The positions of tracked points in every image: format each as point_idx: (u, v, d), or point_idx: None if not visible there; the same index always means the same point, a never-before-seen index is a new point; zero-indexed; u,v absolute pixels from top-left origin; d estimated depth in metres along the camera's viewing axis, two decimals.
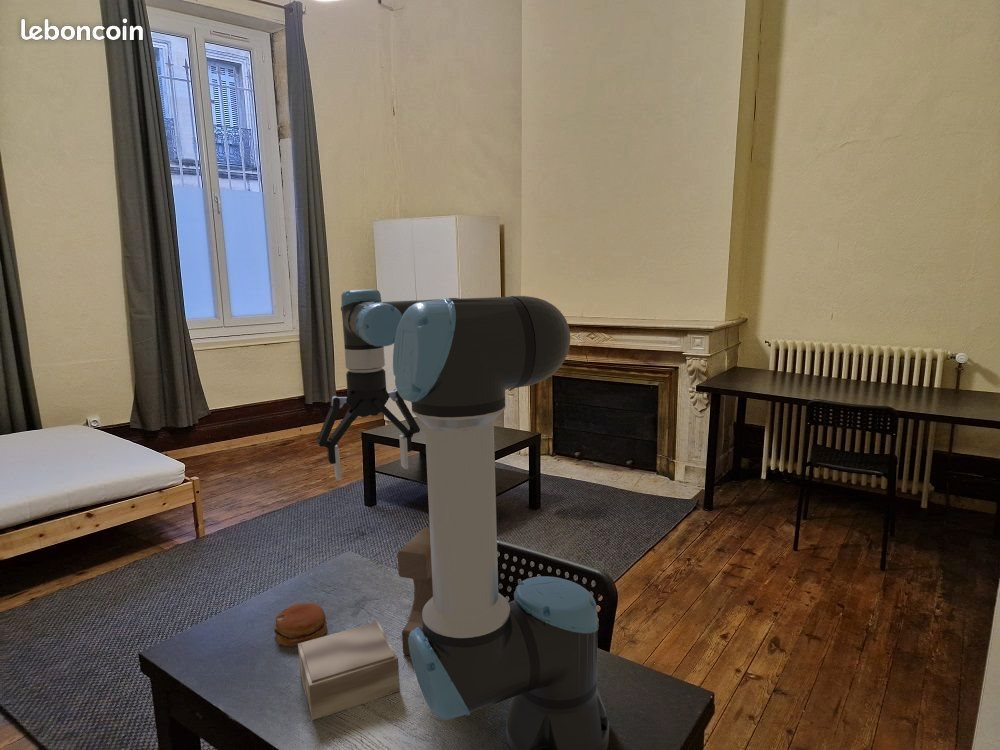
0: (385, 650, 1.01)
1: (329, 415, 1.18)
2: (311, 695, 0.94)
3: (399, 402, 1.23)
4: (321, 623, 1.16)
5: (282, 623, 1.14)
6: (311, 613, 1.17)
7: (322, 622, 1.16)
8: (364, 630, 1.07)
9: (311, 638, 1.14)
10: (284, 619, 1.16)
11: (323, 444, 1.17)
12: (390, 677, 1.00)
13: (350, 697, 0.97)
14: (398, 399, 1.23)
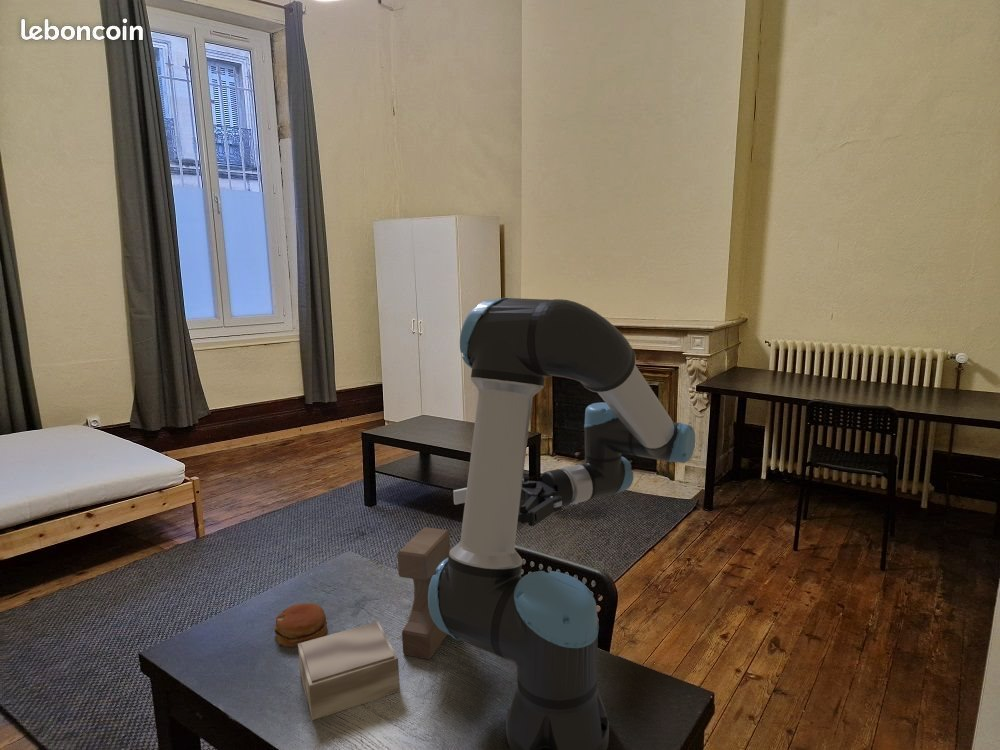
0: (385, 650, 1.01)
1: None
2: (311, 695, 0.94)
3: (550, 498, 1.15)
4: (321, 623, 1.16)
5: (282, 624, 1.14)
6: (312, 613, 1.17)
7: (323, 622, 1.16)
8: (364, 630, 1.07)
9: (311, 638, 1.14)
10: (284, 619, 1.15)
11: None
12: (390, 677, 1.00)
13: (350, 697, 0.97)
14: (552, 497, 1.15)
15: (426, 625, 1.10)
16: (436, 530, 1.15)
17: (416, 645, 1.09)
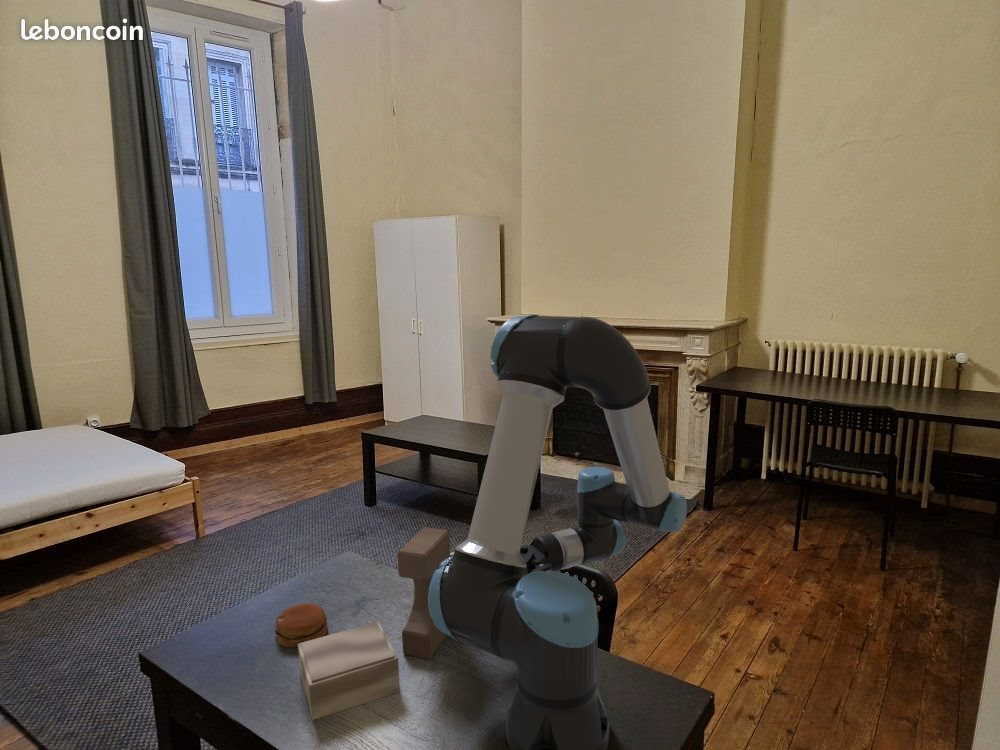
0: (385, 650, 1.01)
1: None
2: (311, 695, 0.94)
3: (539, 567, 1.16)
4: (322, 623, 1.16)
5: (282, 624, 1.14)
6: (312, 614, 1.16)
7: (323, 623, 1.16)
8: (364, 630, 1.07)
9: (312, 639, 1.14)
10: (285, 619, 1.15)
11: None
12: (390, 677, 1.00)
13: (350, 697, 0.97)
14: (542, 566, 1.17)
15: (426, 625, 1.10)
16: (436, 530, 1.15)
17: (416, 645, 1.09)
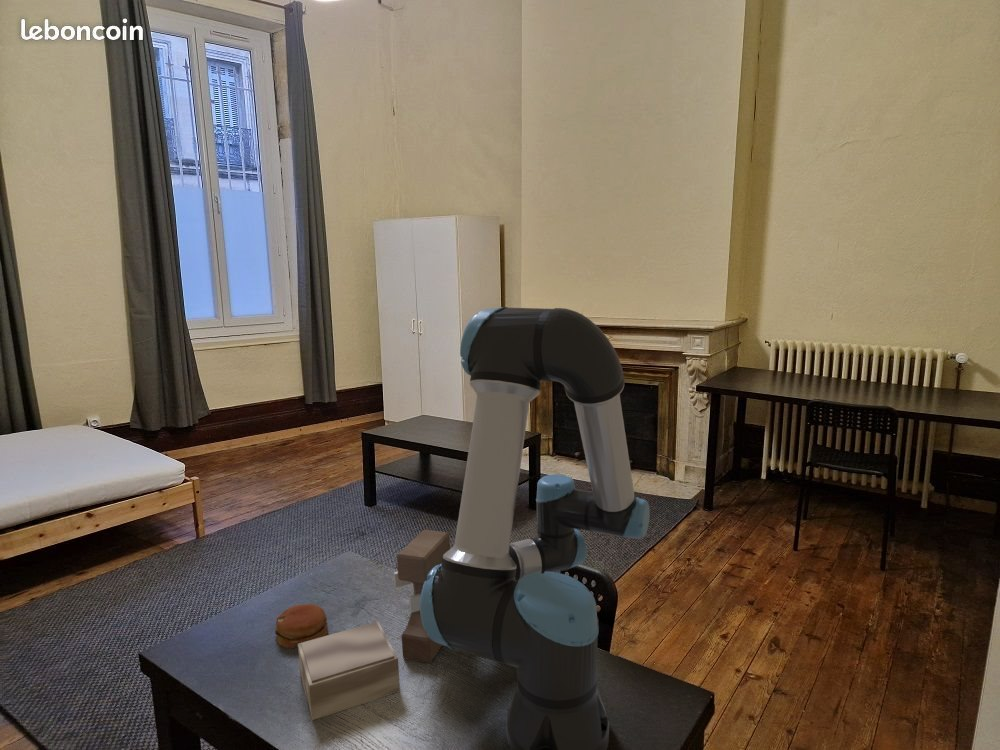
0: (385, 650, 1.01)
1: None
2: (311, 695, 0.94)
3: None
4: (322, 624, 1.16)
5: (283, 625, 1.14)
6: (312, 614, 1.16)
7: (323, 623, 1.16)
8: (364, 630, 1.07)
9: (312, 639, 1.14)
10: (285, 620, 1.15)
11: None
12: (390, 677, 1.00)
13: (350, 697, 0.97)
14: None
15: None
16: (436, 532, 1.14)
17: (416, 648, 1.08)
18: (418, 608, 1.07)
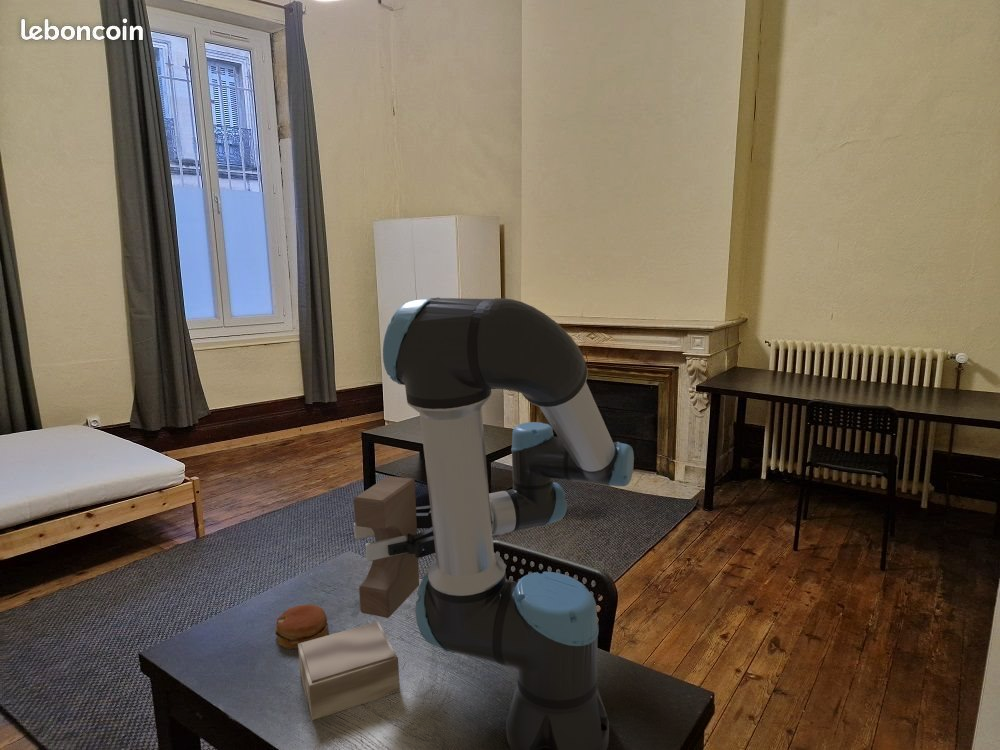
0: (385, 650, 1.01)
1: None
2: (311, 695, 0.94)
3: None
4: (322, 625, 1.15)
5: (283, 625, 1.14)
6: (313, 615, 1.16)
7: (324, 624, 1.16)
8: (364, 630, 1.07)
9: None
10: (285, 620, 1.15)
11: None
12: (390, 677, 1.00)
13: (350, 697, 0.97)
14: None
15: (386, 581, 1.00)
16: (400, 479, 1.05)
17: (374, 602, 0.99)
18: (375, 557, 0.98)
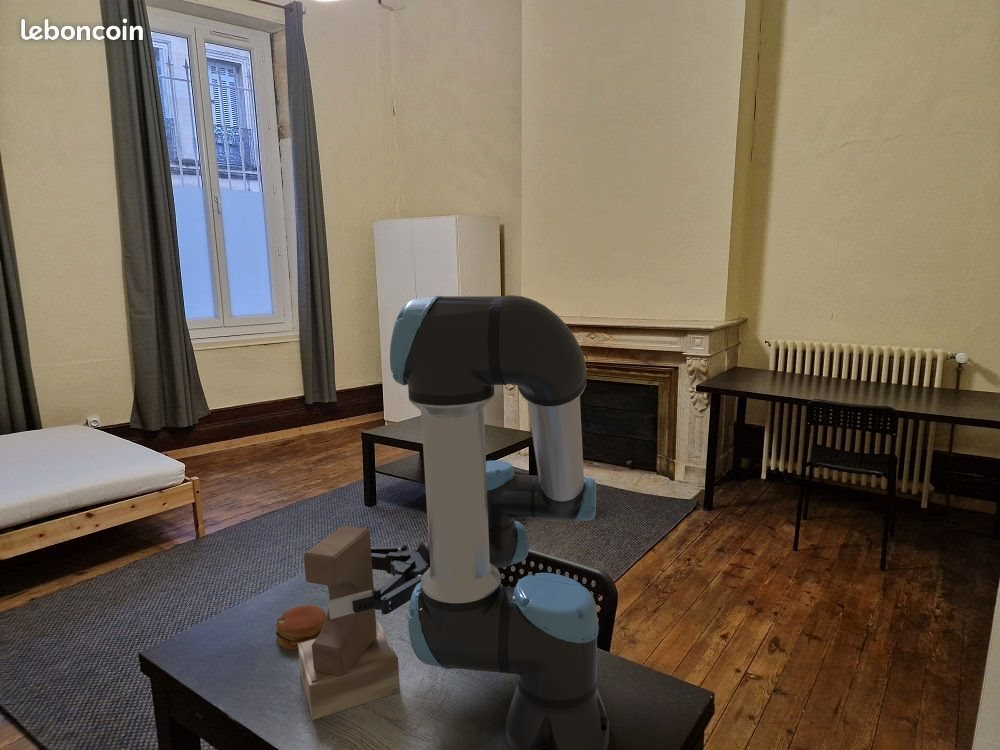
0: (385, 650, 1.01)
1: None
2: (311, 695, 0.94)
3: (416, 578, 0.99)
4: None
5: (283, 626, 1.13)
6: (313, 616, 1.16)
7: None
8: None
9: None
10: (286, 621, 1.15)
11: None
12: (390, 677, 1.00)
13: (350, 697, 0.97)
14: (419, 576, 0.99)
15: (339, 637, 0.96)
16: (355, 529, 1.01)
17: (327, 660, 0.95)
18: (339, 614, 0.93)
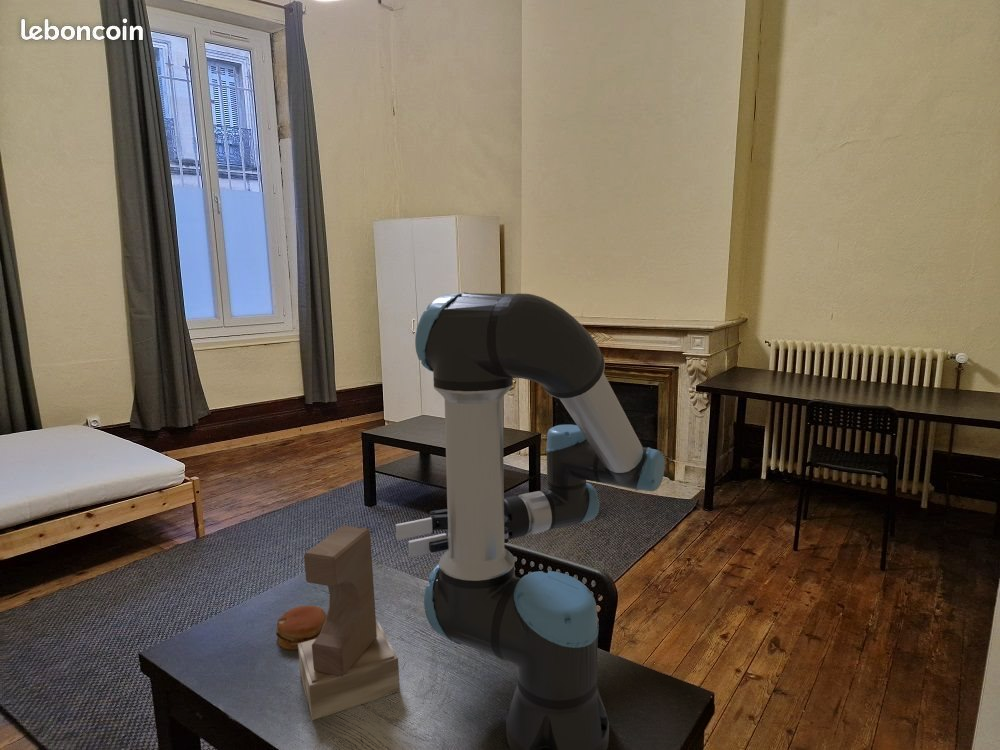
0: (385, 650, 1.01)
1: None
2: (311, 695, 0.94)
3: None
4: None
5: (284, 626, 1.13)
6: (314, 616, 1.16)
7: None
8: None
9: None
10: (286, 622, 1.15)
11: (433, 512, 1.14)
12: (390, 677, 1.00)
13: (350, 697, 0.97)
14: None
15: (340, 638, 0.96)
16: (355, 529, 1.01)
17: (327, 660, 0.95)
18: (417, 553, 1.02)
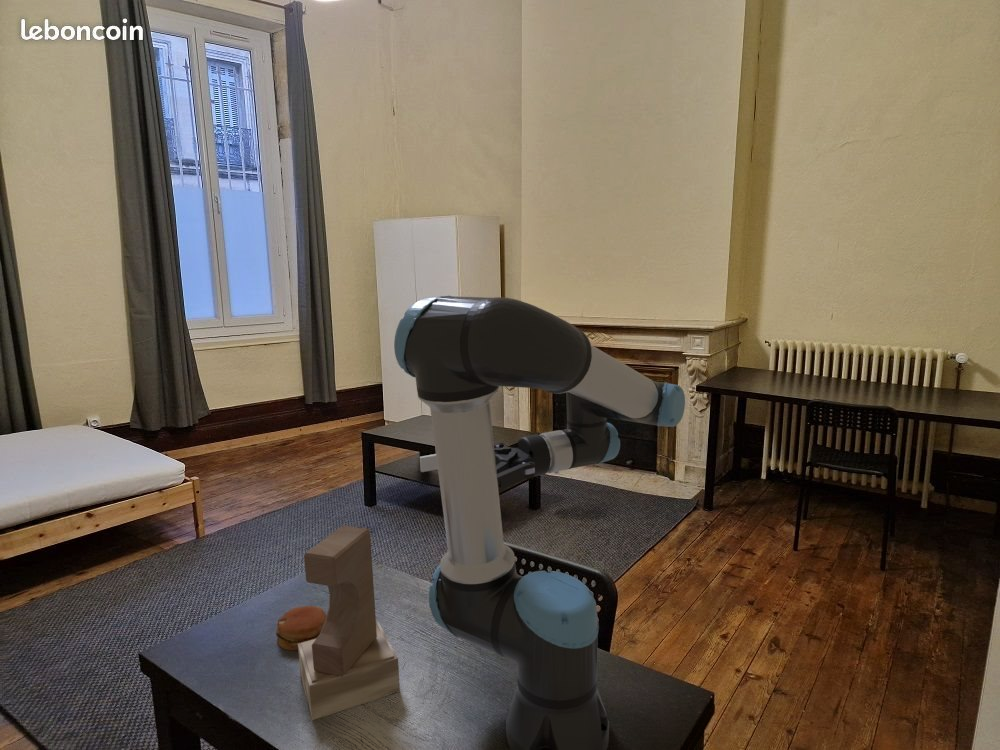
0: (385, 650, 1.01)
1: None
2: (311, 695, 0.94)
3: (521, 464, 1.05)
4: None
5: (284, 627, 1.13)
6: (314, 616, 1.16)
7: None
8: None
9: None
10: (286, 622, 1.14)
11: None
12: (390, 677, 1.00)
13: (350, 697, 0.97)
14: (524, 463, 1.06)
15: (340, 638, 0.96)
16: (355, 529, 1.01)
17: (327, 660, 0.95)
18: None
